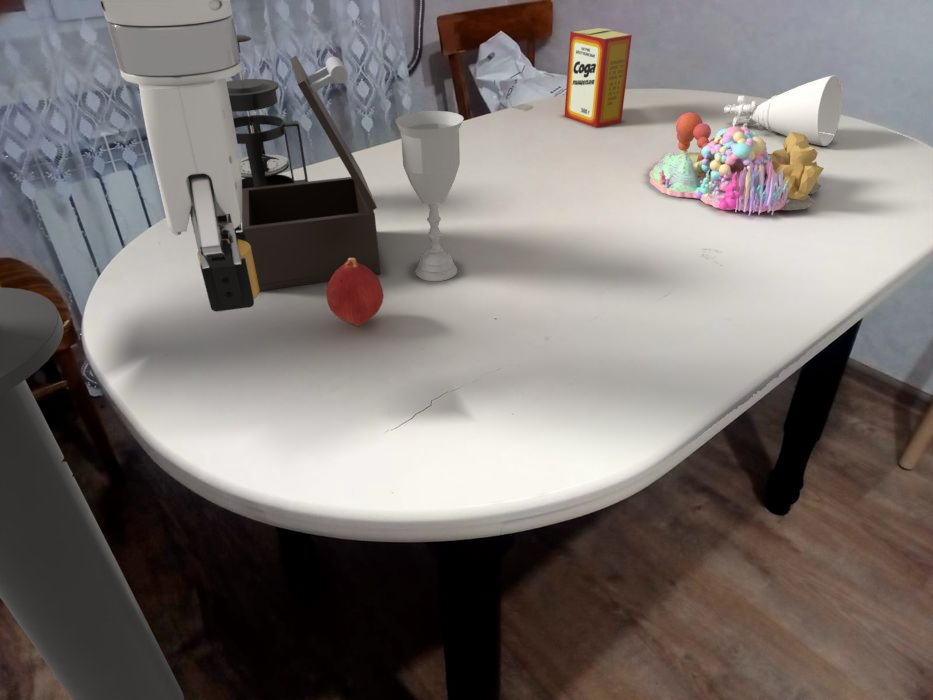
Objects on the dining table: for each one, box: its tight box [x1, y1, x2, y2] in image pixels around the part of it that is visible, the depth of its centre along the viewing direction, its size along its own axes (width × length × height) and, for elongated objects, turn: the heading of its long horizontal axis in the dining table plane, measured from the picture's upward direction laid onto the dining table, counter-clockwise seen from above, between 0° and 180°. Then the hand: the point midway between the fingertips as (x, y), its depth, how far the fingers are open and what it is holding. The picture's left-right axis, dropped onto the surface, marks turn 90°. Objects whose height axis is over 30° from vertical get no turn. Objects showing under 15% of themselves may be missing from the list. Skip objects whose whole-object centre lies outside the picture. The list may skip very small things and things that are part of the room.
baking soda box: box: [563, 27, 632, 129], centre depth 127 cm, size 10×6×16 cm
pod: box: [196, 239, 261, 300], centre depth 52 cm, size 4×4×4 cm
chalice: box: [394, 110, 465, 282], centre depth 75 cm, size 7×7×18 cm
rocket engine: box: [723, 74, 843, 147], centre depth 120 cm, size 12×12×18 cm
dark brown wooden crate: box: [241, 176, 381, 292], centre depth 80 cm, size 15×13×8 cm
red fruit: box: [325, 258, 385, 327], centre depth 68 cm, size 6×6×8 cm
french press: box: [226, 34, 309, 189], centre depth 90 cm, size 12×9×23 cm
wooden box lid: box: [290, 55, 378, 211], centre depth 75 cm, size 15×13×5 cm
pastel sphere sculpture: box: [649, 111, 824, 217], centre depth 98 cm, size 25×24×9 cm
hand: (233, 290), depth 53 cm, fingers closed on pod, 4 cm apart
